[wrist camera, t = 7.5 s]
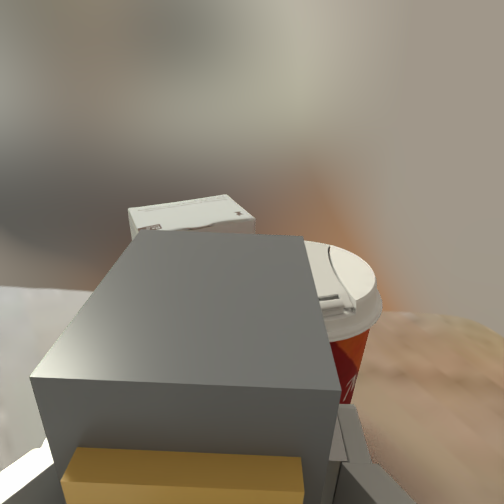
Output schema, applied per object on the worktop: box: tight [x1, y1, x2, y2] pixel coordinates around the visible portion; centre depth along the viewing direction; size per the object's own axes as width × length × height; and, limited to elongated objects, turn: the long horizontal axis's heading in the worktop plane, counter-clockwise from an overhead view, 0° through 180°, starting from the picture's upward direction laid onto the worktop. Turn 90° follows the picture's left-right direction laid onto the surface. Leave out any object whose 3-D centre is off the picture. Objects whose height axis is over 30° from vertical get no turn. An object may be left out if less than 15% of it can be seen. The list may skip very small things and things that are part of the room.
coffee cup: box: [304, 241, 382, 404], centre depth 22 cm, size 8×8×15 cm
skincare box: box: [128, 194, 256, 240], centre depth 31 cm, size 8×6×15 cm
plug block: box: [29, 229, 342, 504], centre depth 9 cm, size 4×6×11 cm
